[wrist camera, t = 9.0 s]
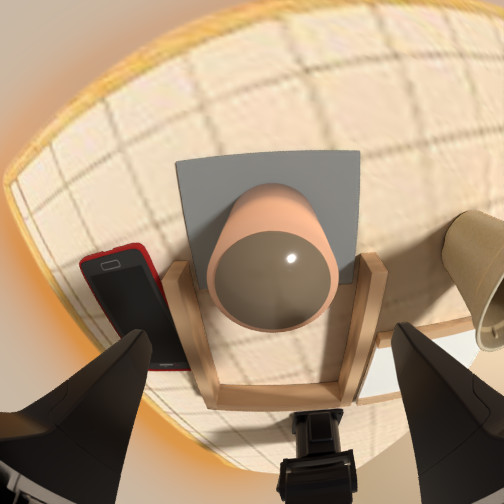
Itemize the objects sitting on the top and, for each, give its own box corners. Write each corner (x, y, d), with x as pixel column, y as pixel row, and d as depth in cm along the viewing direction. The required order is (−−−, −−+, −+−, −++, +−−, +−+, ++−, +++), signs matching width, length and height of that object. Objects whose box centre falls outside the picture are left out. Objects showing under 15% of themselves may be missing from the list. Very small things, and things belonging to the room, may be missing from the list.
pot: (315, 263, 19) (333, 331, 13) (233, 266, 20) (217, 335, 14) (316, 181, 17) (344, 220, 10) (223, 186, 17) (195, 227, 11)
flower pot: (405, 272, 20) (453, 346, 12) (456, 169, 15) (535, 208, 8) (465, 297, 20) (507, 356, 13) (509, 217, 16) (567, 260, 8)
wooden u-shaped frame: (346, 386, 27) (350, 405, 24) (211, 389, 28) (207, 409, 26) (375, 252, 19) (388, 271, 16) (173, 261, 20) (161, 281, 18)
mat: (351, 282, 20) (352, 283, 20) (200, 287, 21) (199, 289, 21) (359, 150, 16) (360, 151, 16) (176, 161, 17) (175, 161, 17)
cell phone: (144, 237, 20) (139, 243, 19) (206, 363, 26) (205, 370, 26) (80, 256, 21) (75, 261, 21) (146, 365, 28) (144, 371, 27)
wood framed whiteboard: (496, 309, 21) (500, 314, 20) (460, 374, 26) (463, 379, 25) (378, 332, 23) (380, 340, 22) (355, 399, 28) (356, 405, 27)
